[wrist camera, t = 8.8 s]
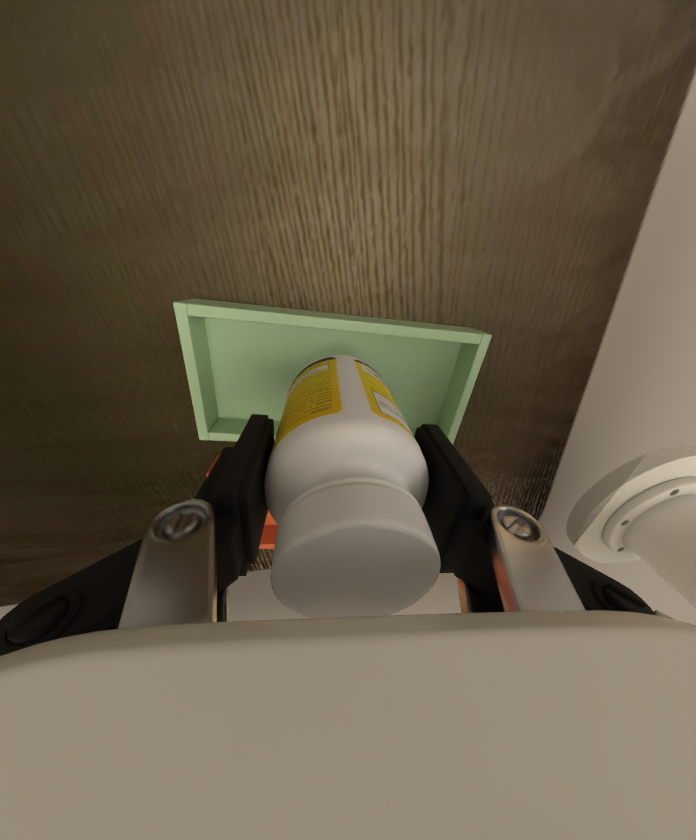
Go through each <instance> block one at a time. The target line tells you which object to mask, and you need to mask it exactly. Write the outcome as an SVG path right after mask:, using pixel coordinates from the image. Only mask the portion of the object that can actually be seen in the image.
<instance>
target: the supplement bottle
mask: <svg viewBox="0 0 696 840" xmlns="http://www.w3.org/2000/svg"><path fill="white" fill-rule="evenodd" d="M428 485H429V474H428V468H427V464H426V461H425V458H424V456H423V454H422V452H421V449H420V447H419V445H418V443H417V441H416V440H415V438H414V436H413V434H412V432H411V430H410V429H409V427H408V425H407V423H406V421H405V420H404V418H403V416H402V414H401V413H400V411H399V409H398V407H397V405H396V403H395V402H394V400H393V398H392V396H391V394H390V392H389V390H388V389H387V387H386V385H385V383H384V381H383V380H382V378H381V377H380V375H379V374H378V373H377V372H376V370H375V369H374V368H372V367H371V366H370V365H369V364H368V363H366V362H364V361H362V360H361V359H358V358H356V357H352V356H348V355H329V356H324V357H321V358H318V359H316V360H314V361H312V362H310V363H309V364H307V365H306V366H305V367H304V368H303V369H302V370H301V371H300V372H299V373H298V374H297V375H296V377H295V378H294V380H293V382H292V384H291V386H290V389H289V392H288V395H287V399H286V403H285V407H284V410H283V414H282V417H281V420H280V424H279V427H278V430H277V434H276V437H275V441H274V444H273V448H272V451H271V454H270V457H269V461H268V464H267V469H266V474H265V481H264V491H265V499H266V503H267V506H268V509H269V512H270V514H271V516H272V517H273V519H274V520H275V522H276V523H277V525H278V528H277V532H276V538H275V547H274V553H273V561H272V567H271V575H270V578H271V585H272V589H273V592H274V594H275V596H276V597H277V598H278V600H279V601H280V602H281V603H282V604H283V605H284V606H285V607H287V608H288V609H290V610H291V611H293V612H295V613H297V614H300V615H302V616H304V617H308V618H336V617H365V616H388V615H391V614H393V613H396V612H399V611H401V610H403V609H405V608H407V607H409V606H411V605H412V604H414V603H415V602H417V601H418V600H419V599H421V598H422V597H423V596H424V595H425V594H426V593H427V592H428V591H429V590H430V589H431V587H432V586H433V585H434V583H435V582H436V580H437V578H438V575H439V573H440V566H441V562H440V555H439V552H438V549H437V546H436V543H435V541H434V538H433V536H432V533H431V530H430V527H429V525H428V523H427V520H426V518H425V515H424V513H423V512H422V507H423V505H424V503H425V500H426V496H427V492H428Z"/></svg>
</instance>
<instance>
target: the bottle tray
mask: <svg viewBox="0 0 696 840" xmlns="http://www.w3.org/2000/svg"><path fill="white" fill-rule="evenodd" d="M173 305H174V310H175V315H176V321H177V326H178V331H179V336H180V341H181V346H182V352H183V357H184V362H185V367H186V372H187V377H188V383H189V388H190V393H191V398H192V403H193V408H194V414H195V419H196V424H197V429H198V434H199V439H200V440H217V441H238V439H239V437H240V435H241V433H242V432H243V430H244V428H245V426H246V424H247V422H248V420H249V418H250V416H251V415H252V414H261V415H268V418H269V419H273V420H274V441H275V437H276V434H277V430H278V427H279V424H280V420H281V417H282V414H283V410H284V407H285V403H286V399H287V395H288V392H289V389H290V386H291V384H292V382H293V380H294V378H295V377H296V375H297V374H298V373H299V372H300V371H301V370H302V369H303V368H304V367H305V366H306V365H307V364H309V363H310V362H312V361H314V360H316V359H318V358H321V357H324V356H329V355H348V356H352V357H356V358H358V359H361V360H362V361H364V362H366V363H368V364H369V365H370V366H371V367H372V368H374V369H375V370H376V372H377V373H378V374H379V375H380V377H381V378H382V380H383V381H384V383H385V385H386V387H387V389H388V390H389V392H390V394H391V396H392V398H393V400H394V402H395V403H396V405H397V407H398V409H399V411H400V413H401V414H402V416H403V418H404V420H405V421H406V423H407V425H408V427H409V429H410V430H411V432H412V434H413V436H414V435H415V431H416V429H417V427H421V425H422V424H436V425H438V426H439V427H440V428H441V430H442V431H443V432H444V434H445V435H446V436H447V438H448V439H449V440H450V442H451V443H452V444H453V443H454V440H455V437H456V434H457V432H458V429H459V426H460V423H461V420H462V418H463V415H464V412H465V409H466V406H467V404H468V401H469V398H470V395H471V392H472V390H473V387H474V384H475V381H476V378H477V376H478V373H479V370H480V367H481V364H482V362H483V359H484V356H485V353H486V350H487V348H488V345H489V342H490V339H491V336H492V335H490V334H487V333H484V332H482V331H479V330H476V329H473V328H470V327H460V326H451V325H441V324H432V323H422V322H413V321H403V320H394V319H384V318H375V317H366V316H356V315H347V314H337V313H328V312H318V311H309V310H299V309H290V308H280V307H271V306H262V305H252V304H243V303H233V302H224V301H214V300H205V299H189V300H183V301H177V302H173Z"/></svg>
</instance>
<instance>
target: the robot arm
mask: <svg viewBox="0 0 696 840" xmlns="http://www.w3.org/2000/svg"><path fill="white" fill-rule="evenodd" d="M414 438H415V440H416V441H417V443H418V445H419V447H420V449H421V452H422V454H423V456H424V458H425V461H426V464H427V468H428V474H429V485H428V492H427V496H426V500H425V503H424V505H423V507H422V512H423V513H424V515H425V518H426V520H427V523H428V525H429V527H430V530H431V533H432V536H433V538H434V541H435V543H436V546H437V549H438V552H439V555H440V562H441V566H440V573H454V575H455V576H456V577H458V589H459V598H460V607H461V613H456V614H424V615H396V616H395V615H394V616H365V617H336V618H310V619H287V620H286V619H285V620H260V621H236V622H235V621H234V622H229V607H228V606H229V605H228V604H229V603H228V586H229V585H230V584H231V583H233V582H234V581H235V580H237V579H238V576H246V574H247V570H248V566H249V564H255V562H256V558H257V554H258V550H259V546H260V542H261V538H262V534H263V529H264V525H265V521H266V517H267V513H268V506H267V503H266V499H265V491H264V481H265V474H266V469H267V464H268V461H269V457H270V454H271V451H272V448H273V444H274V420H273V419H269V418H268V415H261V414H252V415H251V416H250V418H249V420H248V422H247V424H246V426H245V428H244V430H243V432H242V433H241V435H240V437H239V439H238V441H237V443H236V445H235V447H226V448H224V449H223V451H222V452H221V454H220V456H219V457H218V459H217V461H216V463H215V464H214V466H213V468H212V469H211V471H210V473H209V475H208V476H207V478H206V480H205V481H204V483H203V485H202V487H201V488H200V490H199V492H198V493H197V495H196V497H195V498H194V499H186V500H181V501H178V502H174V503H172V504H170V505H168V506H166V507H164V508H163V509H161V510H160V511H158V512H157V513H156V514H155V515H154V516H153V517H152V518H151V519H150V520H149V522H148V524H147V526H146V528H145V532H144V535H143V539H141V540H139V541H137V542H135V543H133V544H131V545H129V546H127V547H125V548H123V549H122V550H120V551H118V552H116V553H114V554H112V555H110V556H108V557H106V558H104V559H102V560H100V561H98V562H96V563H95V564H93V565H91V566H89V567H87V568H85V569H83V570H81V571H79V572H77V573H75V574H73V575H71V576H69V577H67V578H66V579H64V580H62V581H60V582H58V583H56V584H54V585H52V586H50V587H48V588H46V589H44V590H42V591H40V592H38V593H37V594H35V595H33V596H32V597H30V598H28V599H27V600H25V601H23V602H22V603H20V604H19V605H17V606H16V607H15V608H14V609H12V610H11V611H10V612H8V613H7V614H6V615H5V616H4V617H3V618H2V619H1V620H0V840H696V625H693V624H689V623H685V622H681V621H677V620H674V619H672V618H671V617H669V616H667V615H665V614H663V613H661V612H659V611H657V610H655V611H654V612H653V611H652V609H651V608H650V607H649V606H648V605H647V604H646V603H645V602H644V601H643V600H642V599H641V598H640V597H639V596H638V595H637V594H635V593H634V592H633V591H632V590H630V589H629V588H627V587H626V586H624V585H622V584H621V583H619V582H618V581H616V580H614V579H612V578H610V577H608V576H607V575H604V574H603V573H601V572H599V571H597V570H595V569H594V568H592V567H590V566H588V565H586V564H584V563H583V562H581V561H579V560H577V559H575V558H573V557H572V556H570V555H568V554H566V553H564V552H562V551H561V550H559V549H557V548H555V547H553V545H552V543H551V541H550V539H549V537H548V535H547V533H546V531H545V530H544V528H543V527H542V525H541V524H540V523H539V522H538V521H537V520H536V519H535V518H534V517H532V516H531V515H529V514H528V513H526V512H524V511H522V510H521V509H519V508H516V507H513V506H509V505H497V506H495V505H494V503H493V502H492V501H491V499H492V496H491V495H490V493H489V492H488V491H487V489H486V488H485V487H484V485H483V484H482V483H481V481H480V480H479V479H478V477H477V476H476V475H475V473H474V472H473V471H472V470H471V468H470V467H469V466H468V464H467V463H466V462H465V460H464V459H463V458H462V456H461V455H460V454H459V452H458V451H457V450H456V448H455V447H454V446H453V444H452V443H451V442H450V440H449V439H448V438H447V436H446V435H445V434H444V432H443V431H442V430H441V428H440V427H439V426H438V425H436V424H422V425H421V427H417V429H416V431H415V435H414ZM603 541H604V543H605V544H606V545H607V546H608V547H609V548H610V549H611V550H612V551H613V552H614V553H616V554H619V555H622V556H628V557H637V556H638V557H640V558H641V559H642V560H643V561H644V562H645V563H646V564H647V565H649V566H650V567H651V568H652V569H653V570H654V571H655V572H656V573H657V574H659V575H660V576H661V577H662V578H663V579H664V580H665V581H666V582H667V583H669V584H670V585H671V586H672V587H673V588H674V589H675V590H676V591H678V592H679V593H680V594H681V595H682V596H683V597H684V598H685V599H686V600H688V601H689V602H690V603H691V604H692V605H693V606H694V607H695V608H696V477H684V478H677V479H673V480H669V481H666V482H663V483H661V484H658V485H655V486H653V487H651V488H649V489H647V490H645V491H643V492H641V493H639V494H638V495H636V496H634V497H633V498H631V499H630V500H629V501H627V502H626V503H624V504H623V505H622V506H621V507H620V508H619V509H618V510H616V512H615V513H614V514H613V515H612V516H611V517H610V518H609V520H608V522H607V523H606V525H605V527H604V530H603Z"/></svg>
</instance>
